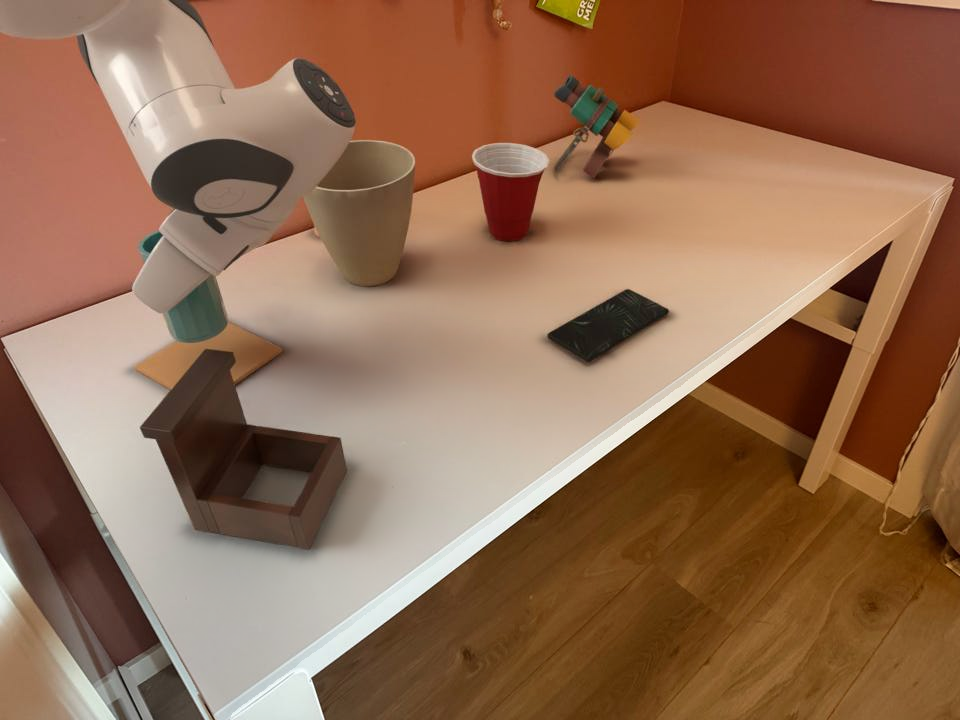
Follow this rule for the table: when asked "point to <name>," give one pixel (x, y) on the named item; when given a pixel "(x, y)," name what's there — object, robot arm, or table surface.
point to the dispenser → (239, 459)
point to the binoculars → (595, 122)
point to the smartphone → (607, 325)
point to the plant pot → (365, 210)
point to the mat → (243, 344)
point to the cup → (192, 305)
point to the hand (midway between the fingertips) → (177, 278)
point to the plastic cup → (509, 186)
